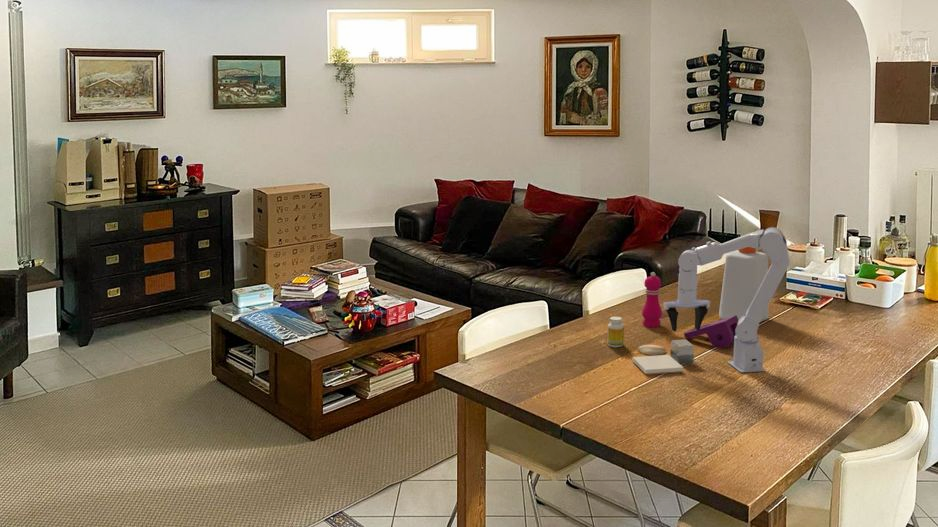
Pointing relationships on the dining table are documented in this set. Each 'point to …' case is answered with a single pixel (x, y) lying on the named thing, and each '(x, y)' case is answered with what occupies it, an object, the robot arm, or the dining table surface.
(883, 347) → the dining table surface
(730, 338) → the mounting bracket
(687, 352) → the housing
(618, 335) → the supplement bottle
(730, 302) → the plastic bottle
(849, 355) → the dining table surface
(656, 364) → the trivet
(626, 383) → the dining table surface
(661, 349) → the metal coaster
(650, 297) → the pepper mill
